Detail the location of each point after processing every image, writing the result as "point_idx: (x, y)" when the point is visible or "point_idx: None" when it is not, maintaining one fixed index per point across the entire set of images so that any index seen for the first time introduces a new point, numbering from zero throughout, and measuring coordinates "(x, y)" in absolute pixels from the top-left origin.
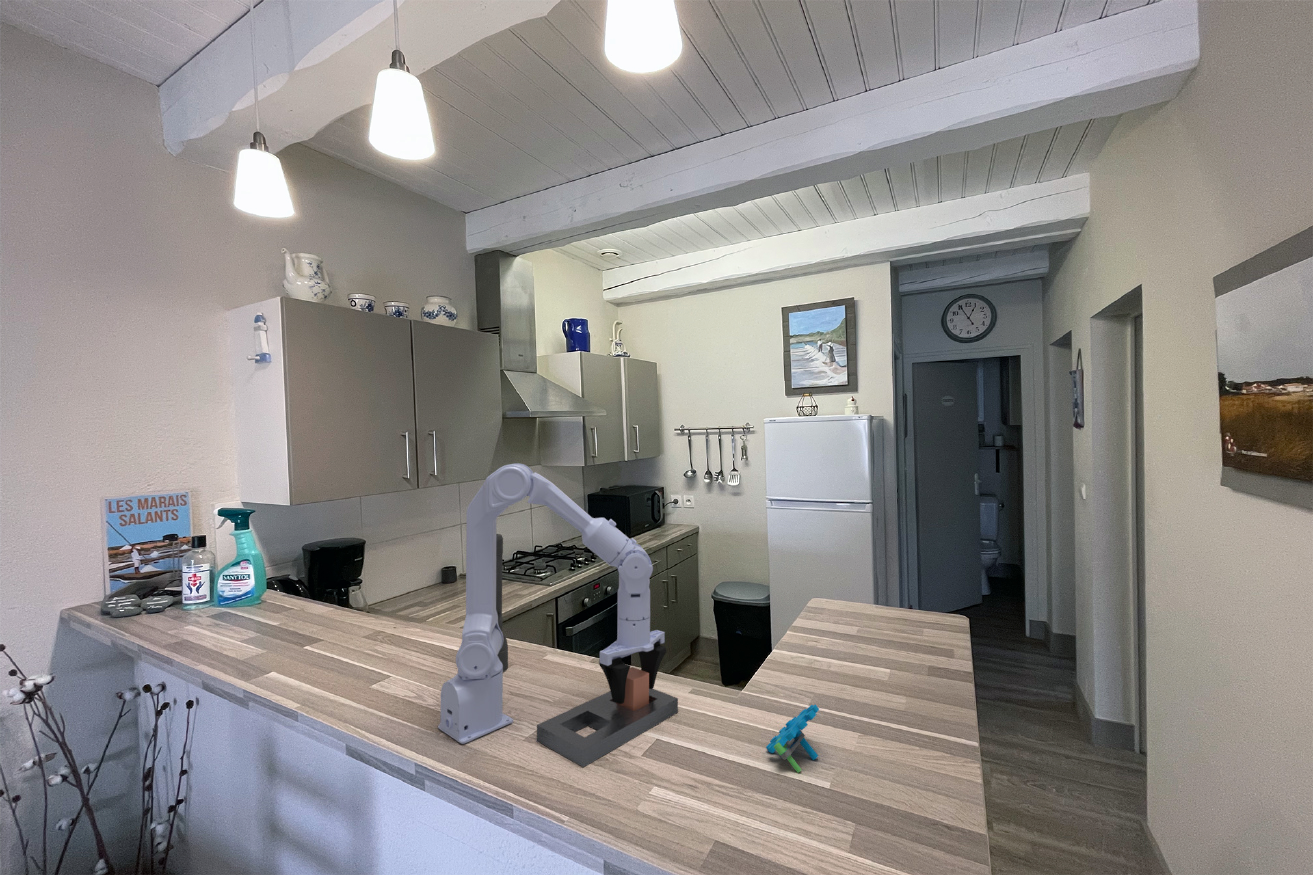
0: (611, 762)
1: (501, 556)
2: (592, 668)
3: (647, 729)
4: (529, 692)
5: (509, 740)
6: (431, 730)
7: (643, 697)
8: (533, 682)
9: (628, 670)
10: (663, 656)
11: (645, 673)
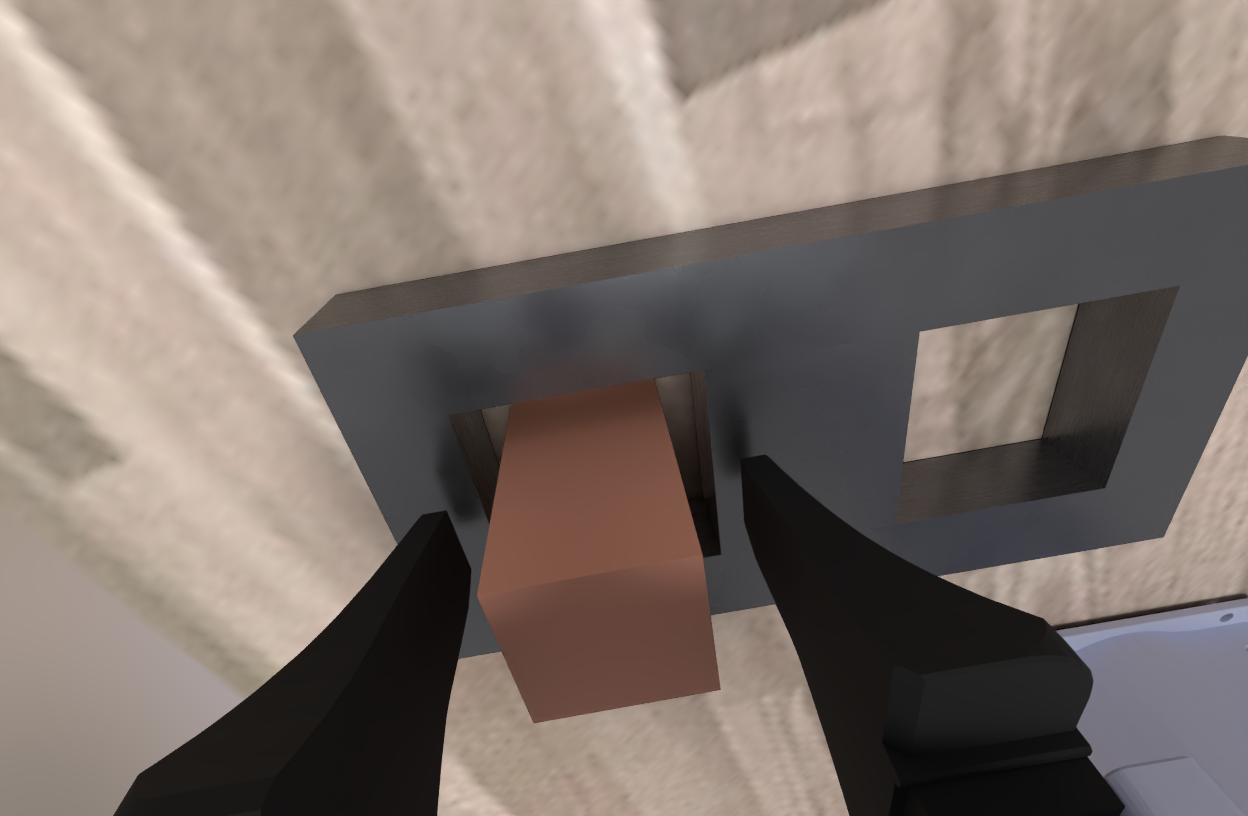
0: (1099, 58)
1: None
2: (490, 811)
3: (655, 238)
4: (810, 762)
5: (1144, 542)
6: None
7: (561, 455)
8: (747, 804)
9: (873, 629)
10: (210, 729)
11: (512, 602)
